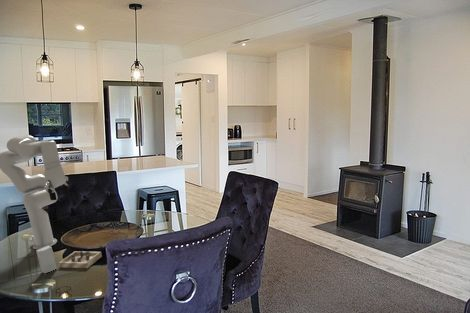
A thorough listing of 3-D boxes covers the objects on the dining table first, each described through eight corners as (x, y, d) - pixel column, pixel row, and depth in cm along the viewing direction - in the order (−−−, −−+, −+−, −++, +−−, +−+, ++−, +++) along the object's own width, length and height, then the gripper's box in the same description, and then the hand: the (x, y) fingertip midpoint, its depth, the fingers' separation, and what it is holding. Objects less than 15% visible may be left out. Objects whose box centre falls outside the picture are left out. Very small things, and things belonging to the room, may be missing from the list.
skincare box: (53, 267, 190) (48, 244, 187) (57, 269, 187) (52, 246, 185) (40, 272, 186) (35, 250, 183) (45, 275, 183) (39, 252, 180)
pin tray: (60, 267, 189) (58, 260, 188) (75, 255, 200) (74, 249, 200) (87, 268, 185) (86, 261, 184) (102, 256, 196) (100, 249, 195)
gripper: (57, 161, 204) (64, 192, 207) (34, 169, 187) (42, 202, 190) (69, 160, 202) (76, 191, 205) (47, 168, 185) (55, 202, 189)
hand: (60, 196), depth 198 cm, fingers open, 9 cm apart
